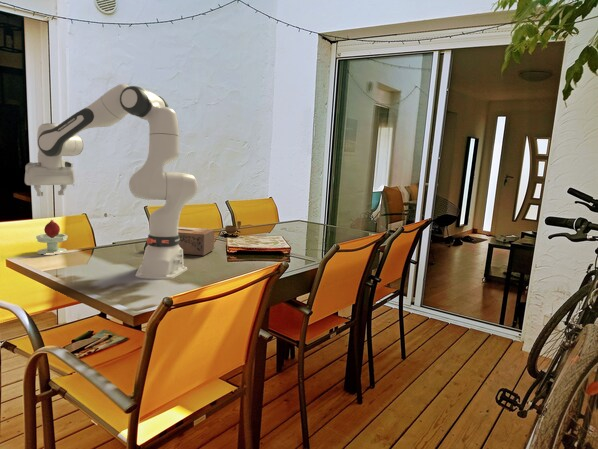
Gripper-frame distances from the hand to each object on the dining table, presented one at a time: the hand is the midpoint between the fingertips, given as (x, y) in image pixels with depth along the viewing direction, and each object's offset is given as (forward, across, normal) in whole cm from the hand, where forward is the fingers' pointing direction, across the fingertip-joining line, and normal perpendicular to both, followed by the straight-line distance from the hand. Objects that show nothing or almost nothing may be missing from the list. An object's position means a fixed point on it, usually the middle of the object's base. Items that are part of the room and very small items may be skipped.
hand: (50, 195), depth 183 cm
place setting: (+26, +100, -28) cm, 107 cm away
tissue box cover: (+25, +41, -37) cm, 61 cm away
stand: (+25, 0, 0) cm, 25 cm away
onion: (+19, 0, 0) cm, 19 cm away
